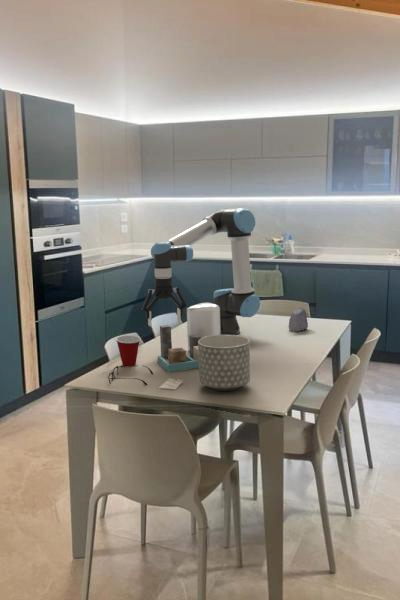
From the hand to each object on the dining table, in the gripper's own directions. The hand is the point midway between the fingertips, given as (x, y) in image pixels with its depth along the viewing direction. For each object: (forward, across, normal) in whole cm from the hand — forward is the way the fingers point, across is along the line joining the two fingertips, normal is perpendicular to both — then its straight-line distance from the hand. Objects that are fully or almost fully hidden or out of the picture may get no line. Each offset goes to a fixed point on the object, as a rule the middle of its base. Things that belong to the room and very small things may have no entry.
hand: (164, 324), depth 256 cm
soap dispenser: (+15, -22, -4) cm, 27 cm away
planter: (+15, -8, +50) cm, 53 cm away
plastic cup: (+15, +18, +5) cm, 24 cm away
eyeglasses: (+16, +22, +25) cm, 37 cm away
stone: (+14, -78, -19) cm, 82 cm away
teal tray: (+15, -6, +14) cm, 22 cm away
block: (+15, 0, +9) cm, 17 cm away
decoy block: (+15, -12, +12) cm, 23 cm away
